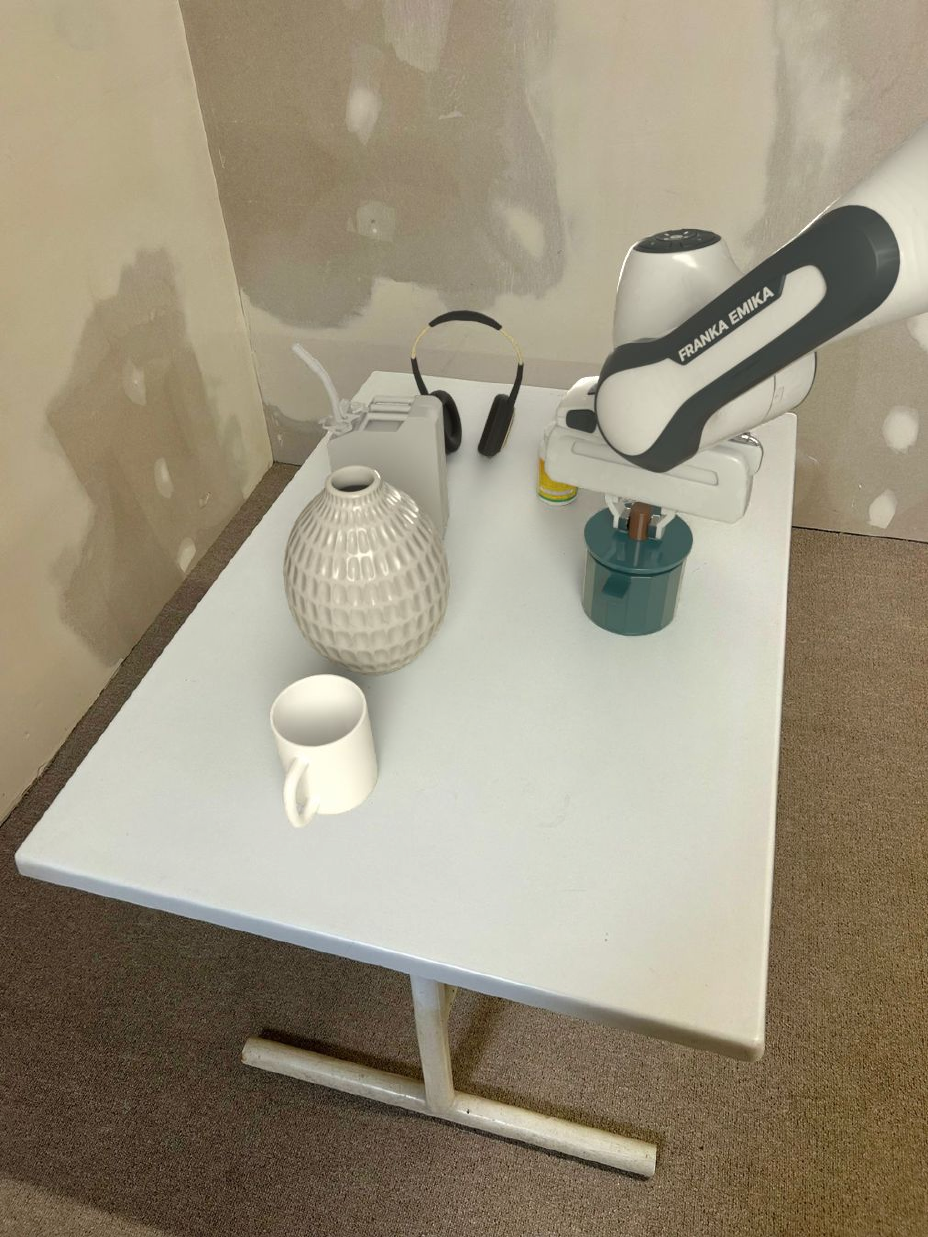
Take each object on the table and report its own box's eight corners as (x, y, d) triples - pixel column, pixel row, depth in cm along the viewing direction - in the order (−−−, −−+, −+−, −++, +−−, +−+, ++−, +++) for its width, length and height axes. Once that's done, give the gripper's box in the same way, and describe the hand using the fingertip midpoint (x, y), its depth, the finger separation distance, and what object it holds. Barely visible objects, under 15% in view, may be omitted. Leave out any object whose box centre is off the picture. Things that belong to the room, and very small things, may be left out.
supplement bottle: (532, 485, 114) (534, 421, 107) (572, 480, 114) (576, 416, 107) (541, 509, 110) (543, 444, 103) (582, 504, 110) (587, 439, 104)
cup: (391, 754, 83) (380, 683, 76) (343, 862, 74) (326, 795, 67) (312, 736, 85) (294, 666, 78) (257, 840, 76) (231, 772, 69)
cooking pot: (694, 573, 100) (705, 514, 94) (653, 664, 90) (662, 605, 84) (608, 550, 103) (614, 492, 98) (559, 635, 93) (562, 576, 88)
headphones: (425, 430, 124) (414, 294, 111) (526, 437, 122) (528, 299, 108) (411, 463, 118) (398, 324, 105) (518, 471, 116) (519, 330, 102)
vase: (473, 615, 96) (466, 443, 81) (424, 724, 85) (405, 549, 70) (339, 589, 100) (308, 420, 85) (276, 690, 89) (228, 518, 74)
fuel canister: (321, 537, 107) (285, 348, 90) (332, 512, 111) (298, 327, 94) (443, 544, 105) (429, 353, 88) (449, 519, 109) (437, 331, 92)
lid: (703, 526, 92) (710, 490, 89) (674, 590, 85) (680, 553, 82) (604, 501, 96) (607, 466, 93) (567, 561, 89) (569, 524, 86)
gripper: (775, 418, 78) (746, 537, 88) (564, 376, 85) (559, 491, 95) (760, 453, 74) (731, 575, 84) (539, 406, 81) (536, 523, 91)
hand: (638, 530), depth 89 cm, fingers closed on lid, 2 cm apart
